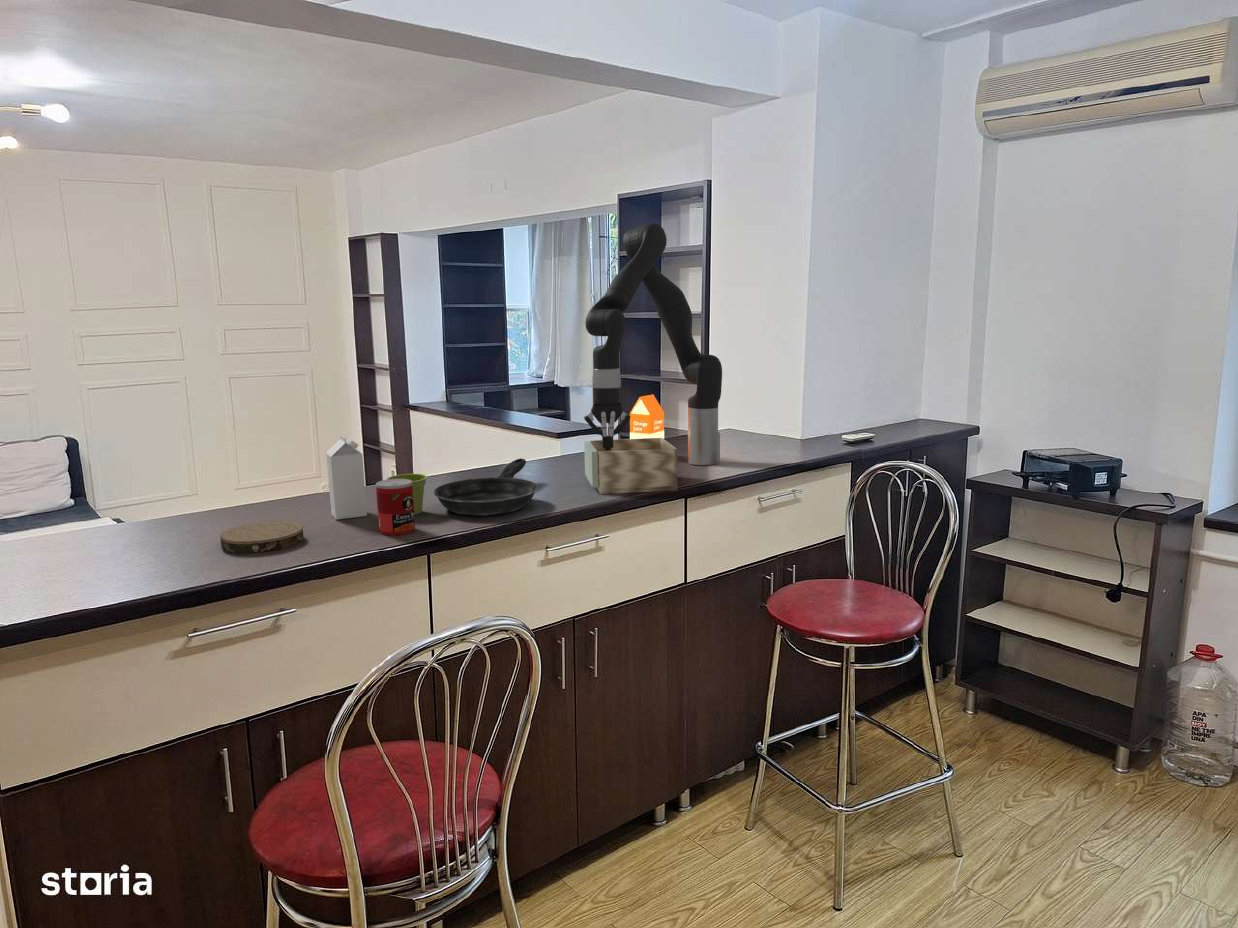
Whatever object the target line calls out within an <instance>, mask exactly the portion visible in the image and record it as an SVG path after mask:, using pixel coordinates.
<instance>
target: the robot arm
mask: <svg viewBox="0 0 1238 928" xmlns="http://www.w3.org/2000/svg"><path fill="white" fill-rule="evenodd" d="M667 239H668V238H667V234H666V232H665V229H664V228H663V227H662V226H661V225H660V224H658V223H656V222H653V223H652V222H651V223H646V224H643V225H639V226H636V227H633V228H631V229H628V230H627V231H625V233H624V234H623V238H622V243H623V248H624V250H625V251H624V252H625V254H626V255H627V258H628V259H629V262H627V264H626V265H624V266H623V268H621V269H620V270H619V271H618V273H617V274H616V275H615V276H614V277H613V279H612V281H611V283H610V284H609V286H608V288H607V290H606V292H605V293H604V295H603V296H602V297H601V298H600V299H598V300H597V302H596V303H595V304H594V305H593V306H592V307H591V308H590V310H589V311H588V313H587V315H586V317H585V321H584V322H585V323H584V324H585V329H586V331H587V333H588V334H590V335H591V336H593V337H607V339H606V342H605V343H604V344H601V345H597V346H596V347H593V350H592V368H593V369H592V376H591V377H592V379H591V381H592V407H591V411H590V412H589V413H588V414H587V415H584V416H583V419H584V420H585V422H586V423H587V424H588V425H589V427H590V428H591V429H592V430H593V431H594V433H595V434H596V435H597V436H601V440H602V446H603V448H605V450H611V448H613V440H614V436H615V435H619V434H621V432H622V431H623V429H624V428H625V427H626V425H627V424H628V422H630V418H631V417H630V414H628V413H627V412H625V411H624V408H623V406H622V380H621V379H622V377H621V369H620V367H621V366H620V352H621V348H622V342H623V339H624V335H625V331H626V326H627V321H626V317H625V315H624V312H626V311H627V309H629V306H630V304H631V303H632V300H633V298H634V296H635V294H636V293H637V290H638V289H639V287H640V285H641V283H643V286H644V288H645V289H646V291H647V293H648V296H649V298H650V299H651V301H652V304H653V306H654V308H655V311H656V313H657V315H658V317H659V320H660V322H661V323H662V325H663V327H664V329H665V331H666V335H667V336H668V338H669V340H670V343H671V344H672V347H673V349H674V352H675V354H676V359H677V360H678V363H679V364H678V365H679V366H680V369H681V372H682V374H683V376H684V378H685V380H686V381H688V383H691V384H693V385H696V392H695V394H694V395H692V396H690V397H689V398H688V399H687V463H688V464H690V465H695V466H709V465H711V466H712V465H716V464H717V465H718V464H721V433H720V432H719V402H720V400H721V397H722V386H723V385H722V383H723V366H722V363H721V360H720V359H719V357H717V355H713V354H705V353H703V354H702V353H701V352H700V350H699V348H698V346H697V344H696V342H695V340H694V337H693V314H692V309H691V307H690V305H689V303H688V301H687V300H688V299H687V298H686V296H685V294H684V292H683V291H682V290H681V288H679V286H677V284H675V283H674V282H673V281H671V280H670V279H669V278H668V277H666V276H665V275H664V274H663V273H662V272H661V271H660V270H659V269H658V268H657V266H656V262H657V261H658V260H659V258H661V256H662V254H663V253H664V251H665V250H666V247H667V244H668V243H667ZM619 418H620V421H619V423H618V424H617V425H616V427H615V423H616V422H617V421H618V420H619ZM594 420H596V421H597V422H598V423H599V425H600V429H599V428H598V427H597V425H596V424H595V423H594Z"/></svg>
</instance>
